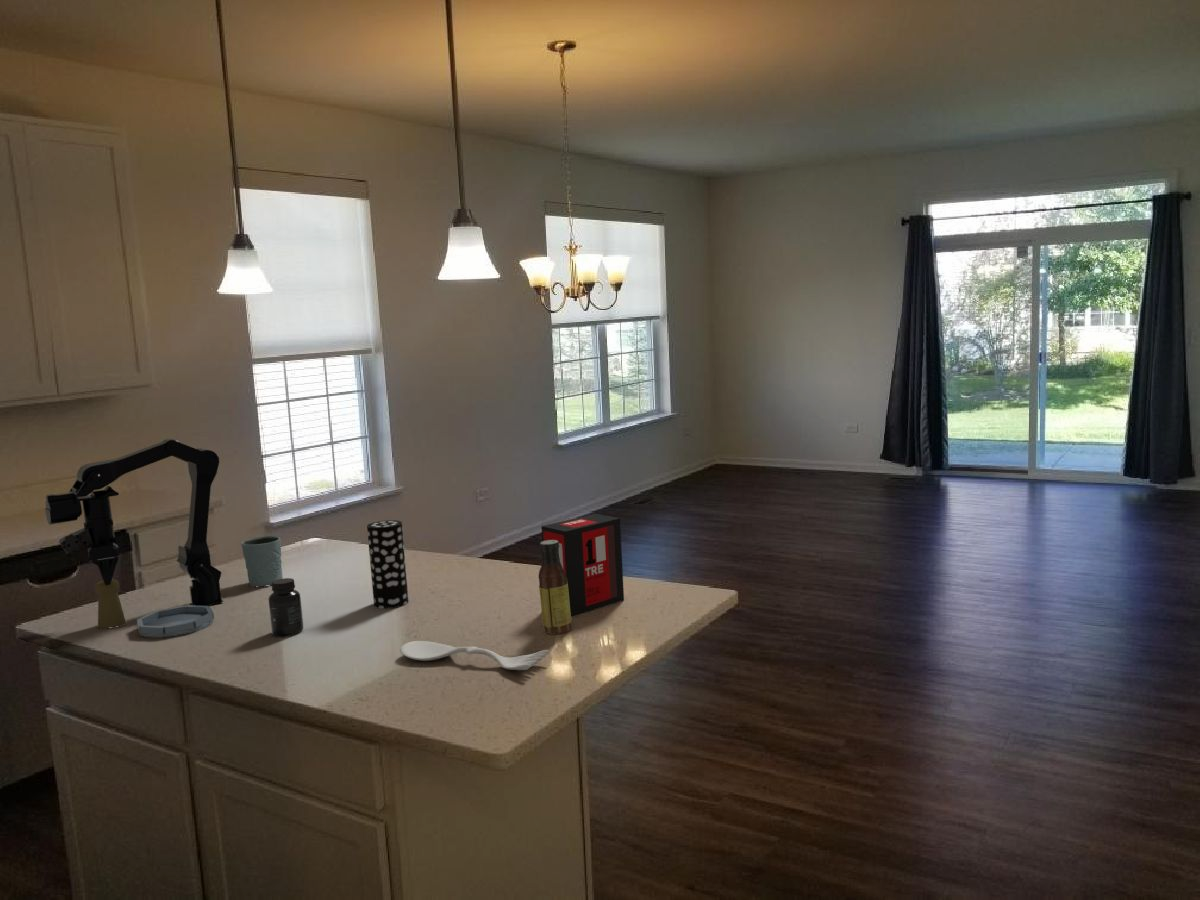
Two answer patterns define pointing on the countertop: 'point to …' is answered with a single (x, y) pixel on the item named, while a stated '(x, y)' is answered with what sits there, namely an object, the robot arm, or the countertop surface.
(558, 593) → the sauce bottle
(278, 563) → the teal cup
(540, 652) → the white spork
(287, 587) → the supplement bottle
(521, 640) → the countertop surface
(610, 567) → the cleaning product box
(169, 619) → the dish
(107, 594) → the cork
